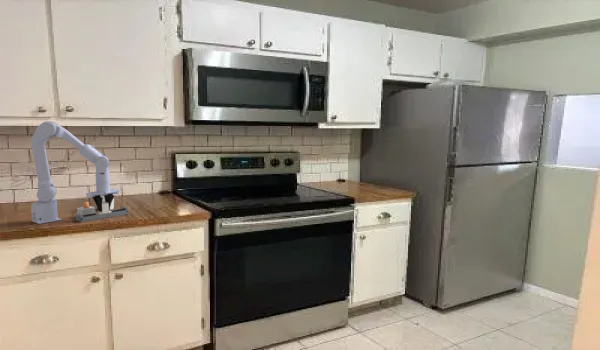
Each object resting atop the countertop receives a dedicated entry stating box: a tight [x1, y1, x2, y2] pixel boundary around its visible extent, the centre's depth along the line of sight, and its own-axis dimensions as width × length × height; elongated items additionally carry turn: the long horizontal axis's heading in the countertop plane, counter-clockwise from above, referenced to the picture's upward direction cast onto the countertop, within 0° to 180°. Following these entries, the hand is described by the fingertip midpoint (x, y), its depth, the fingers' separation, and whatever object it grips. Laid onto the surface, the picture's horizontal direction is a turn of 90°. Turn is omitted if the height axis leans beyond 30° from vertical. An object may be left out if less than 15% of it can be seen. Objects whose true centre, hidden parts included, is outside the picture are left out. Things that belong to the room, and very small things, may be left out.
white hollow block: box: [76, 205, 96, 215], centre depth 190 cm, size 6×5×4 cm
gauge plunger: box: [82, 201, 90, 209], centre depth 189 cm, size 2×2×4 cm
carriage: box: [95, 202, 112, 215], centre depth 189 cm, size 6×3×6 cm, turn 143°
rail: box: [75, 205, 129, 223], centre depth 188 cm, size 22×5×3 cm, turn 143°
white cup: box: [100, 188, 115, 211], centre depth 205 cm, size 8×8×10 cm
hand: (103, 210), depth 189 cm, fingers closed on carriage, 3 cm apart
